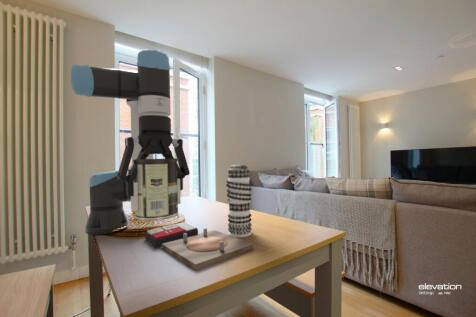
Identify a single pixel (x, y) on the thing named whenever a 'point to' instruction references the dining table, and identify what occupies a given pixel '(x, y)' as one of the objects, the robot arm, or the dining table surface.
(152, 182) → the coffee can
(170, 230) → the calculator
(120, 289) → the dining table surface
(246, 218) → the decorative candle
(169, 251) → the pin board
